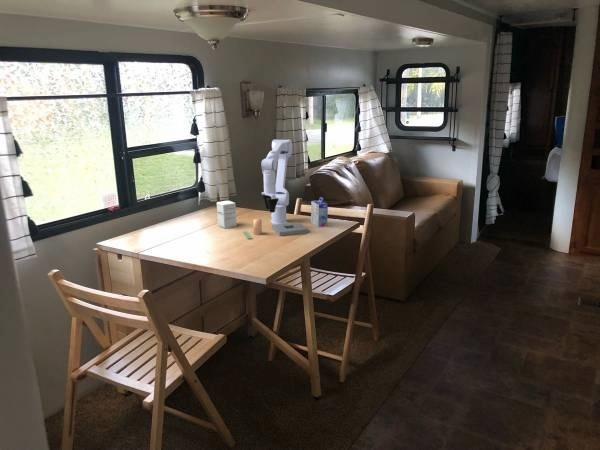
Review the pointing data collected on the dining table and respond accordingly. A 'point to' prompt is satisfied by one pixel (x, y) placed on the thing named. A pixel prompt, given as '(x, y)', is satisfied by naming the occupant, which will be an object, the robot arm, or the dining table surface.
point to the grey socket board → (289, 229)
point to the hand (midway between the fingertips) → (270, 210)
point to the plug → (257, 226)
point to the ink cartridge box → (319, 213)
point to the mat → (247, 235)
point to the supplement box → (226, 214)
